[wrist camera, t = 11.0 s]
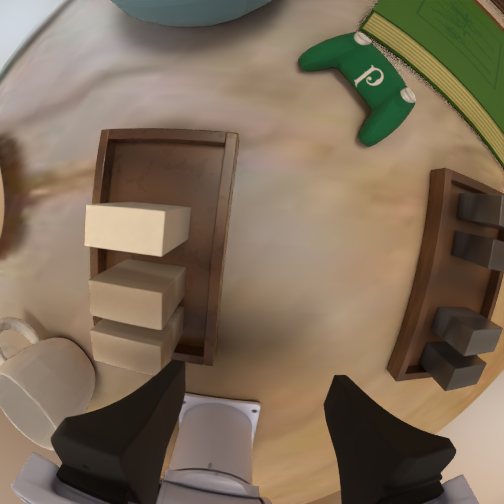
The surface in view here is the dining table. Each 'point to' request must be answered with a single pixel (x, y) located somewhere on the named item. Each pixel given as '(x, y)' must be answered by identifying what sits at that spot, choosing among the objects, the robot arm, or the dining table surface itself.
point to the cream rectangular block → (136, 227)
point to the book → (499, 4)
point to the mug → (43, 383)
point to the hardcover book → (450, 55)
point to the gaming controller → (365, 81)
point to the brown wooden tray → (172, 263)
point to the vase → (188, 10)
